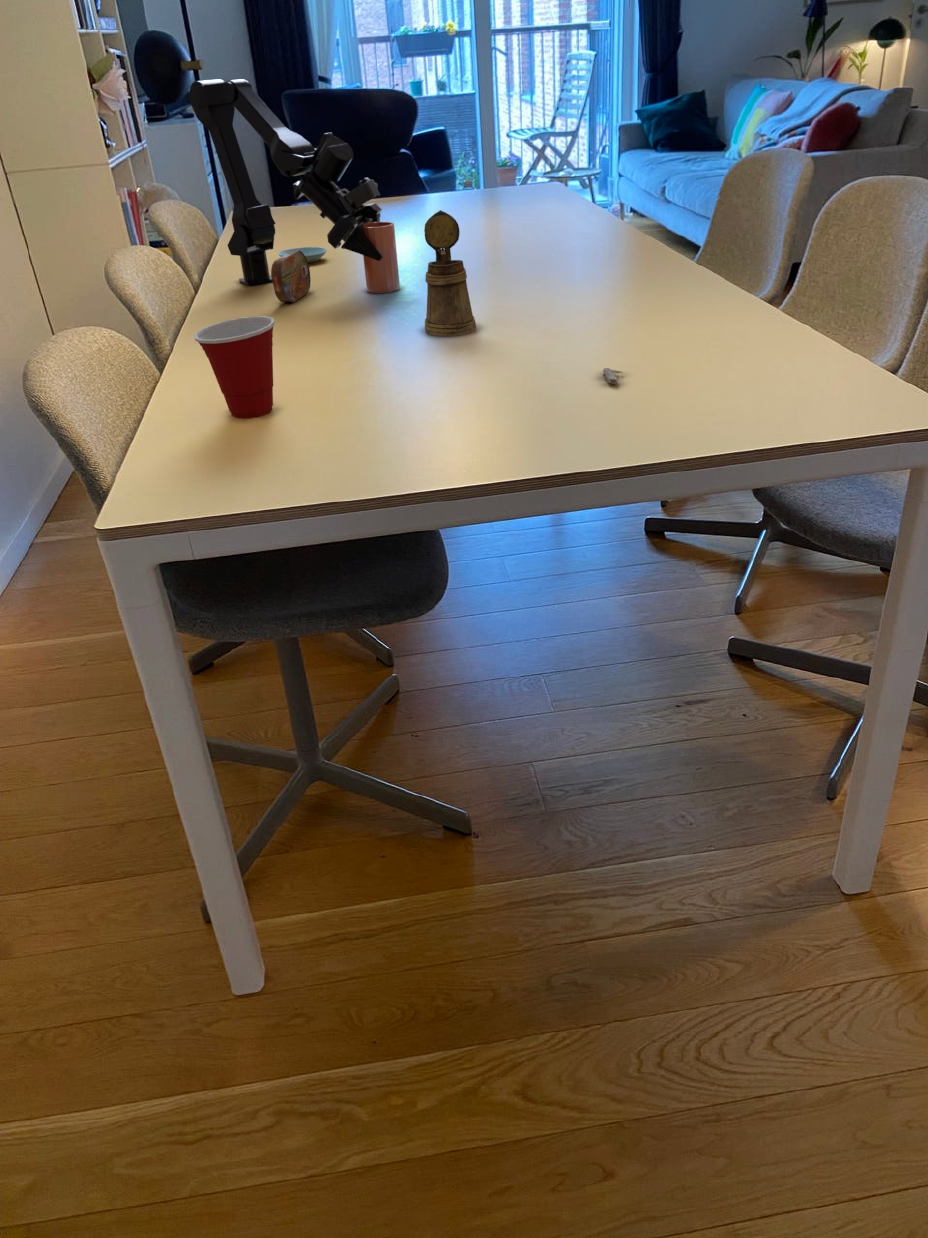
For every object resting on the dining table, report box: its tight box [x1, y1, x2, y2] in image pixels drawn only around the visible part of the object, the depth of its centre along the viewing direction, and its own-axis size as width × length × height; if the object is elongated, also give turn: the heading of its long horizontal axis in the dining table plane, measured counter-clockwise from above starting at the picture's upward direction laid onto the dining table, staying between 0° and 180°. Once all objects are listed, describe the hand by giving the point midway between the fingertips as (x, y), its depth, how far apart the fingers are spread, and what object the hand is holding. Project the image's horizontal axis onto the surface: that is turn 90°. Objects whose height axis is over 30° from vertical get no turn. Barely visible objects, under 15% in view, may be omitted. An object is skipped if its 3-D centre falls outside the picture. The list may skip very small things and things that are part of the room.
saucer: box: [277, 246, 328, 264], centre depth 219 cm, size 12×12×2 cm
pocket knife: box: [602, 367, 623, 384], centre depth 129 cm, size 6×1×3 cm
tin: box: [270, 251, 311, 303], centre depth 184 cm, size 15×3×8 cm, turn 168°
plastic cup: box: [193, 315, 275, 420], centre depth 123 cm, size 11×11×12 cm
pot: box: [362, 221, 401, 294], centre depth 185 cm, size 7×7×12 cm
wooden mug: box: [423, 209, 477, 337], centre depth 154 cm, size 9×14×18 cm, turn 4°
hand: (386, 255), depth 184 cm, fingers closed on pot, 7 cm apart
